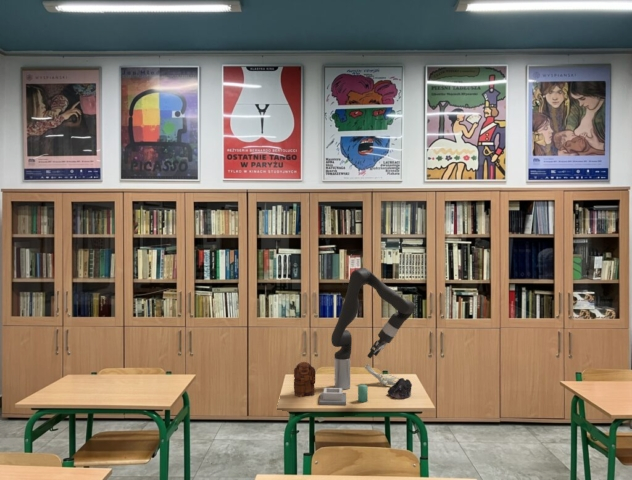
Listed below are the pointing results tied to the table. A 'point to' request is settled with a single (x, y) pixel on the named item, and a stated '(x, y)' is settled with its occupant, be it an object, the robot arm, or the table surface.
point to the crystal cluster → (401, 389)
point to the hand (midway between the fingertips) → (371, 356)
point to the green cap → (362, 393)
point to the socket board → (332, 397)
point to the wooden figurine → (304, 379)
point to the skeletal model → (384, 380)
